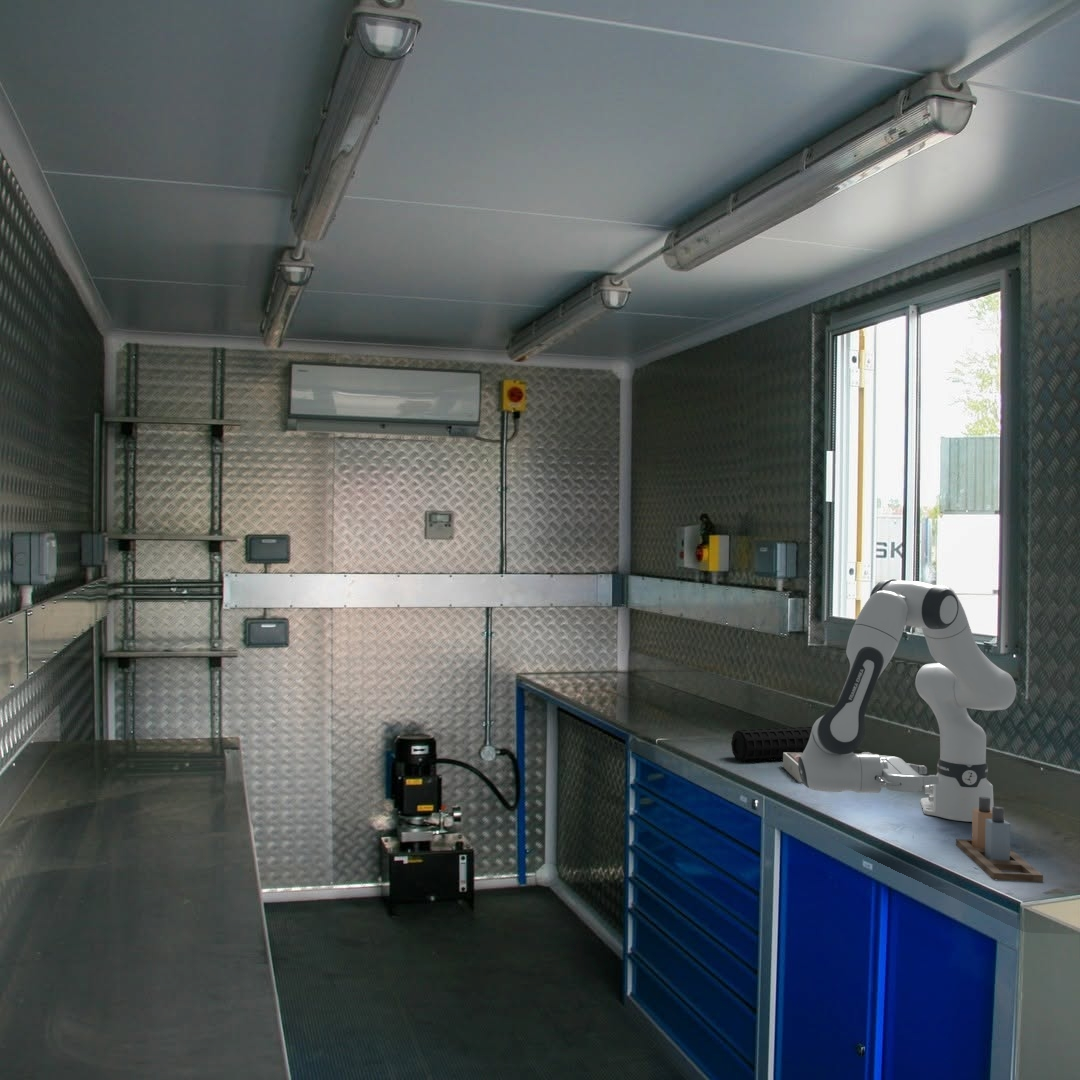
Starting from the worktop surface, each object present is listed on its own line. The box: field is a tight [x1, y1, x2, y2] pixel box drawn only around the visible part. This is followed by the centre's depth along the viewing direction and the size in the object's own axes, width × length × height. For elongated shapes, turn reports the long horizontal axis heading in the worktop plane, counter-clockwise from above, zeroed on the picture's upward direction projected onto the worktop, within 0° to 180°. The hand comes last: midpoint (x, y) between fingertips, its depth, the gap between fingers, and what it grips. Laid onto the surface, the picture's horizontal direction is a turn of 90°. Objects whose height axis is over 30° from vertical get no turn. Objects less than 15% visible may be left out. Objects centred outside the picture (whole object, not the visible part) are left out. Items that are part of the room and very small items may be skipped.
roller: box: [730, 726, 813, 763], centre depth 353 cm, size 38×10×10 cm, turn 110°
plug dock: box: [955, 838, 1044, 883], centre depth 241 cm, size 26×10×2 cm, turn 176°
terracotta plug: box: [971, 797, 992, 848], centre depth 250 cm, size 4×4×12 cm
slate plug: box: [985, 806, 1011, 861], centre depth 241 cm, size 4×4×12 cm
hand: (932, 774), depth 251 cm, fingers open, 8 cm apart
